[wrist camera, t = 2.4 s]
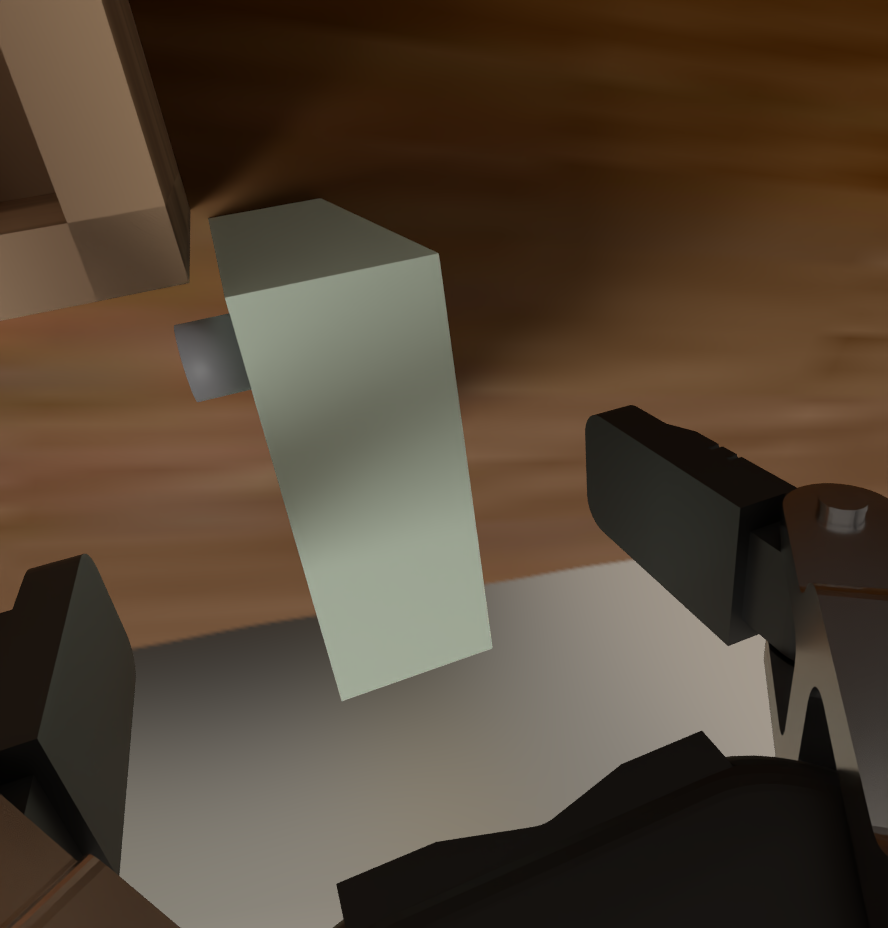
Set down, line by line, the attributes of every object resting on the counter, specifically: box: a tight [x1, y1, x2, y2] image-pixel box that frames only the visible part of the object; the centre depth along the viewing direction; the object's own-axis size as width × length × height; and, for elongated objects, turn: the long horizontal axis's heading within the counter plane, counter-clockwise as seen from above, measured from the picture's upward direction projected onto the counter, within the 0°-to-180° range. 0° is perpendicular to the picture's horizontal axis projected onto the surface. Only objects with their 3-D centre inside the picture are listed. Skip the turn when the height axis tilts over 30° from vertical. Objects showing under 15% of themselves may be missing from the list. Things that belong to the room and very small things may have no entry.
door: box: [174, 198, 492, 701], centre depth 16 cm, size 4×8×11 cm, turn 8°
